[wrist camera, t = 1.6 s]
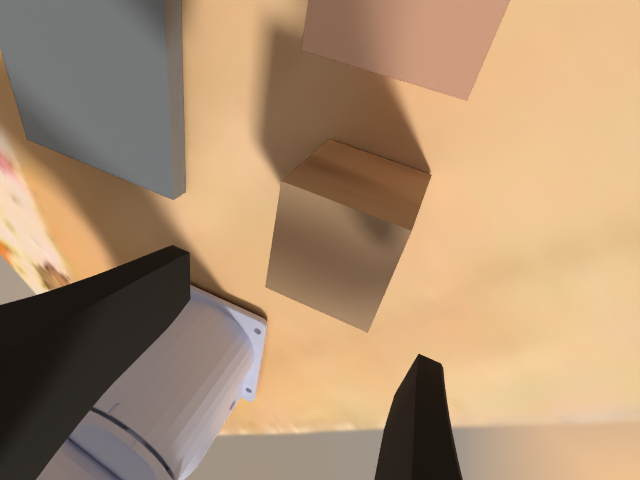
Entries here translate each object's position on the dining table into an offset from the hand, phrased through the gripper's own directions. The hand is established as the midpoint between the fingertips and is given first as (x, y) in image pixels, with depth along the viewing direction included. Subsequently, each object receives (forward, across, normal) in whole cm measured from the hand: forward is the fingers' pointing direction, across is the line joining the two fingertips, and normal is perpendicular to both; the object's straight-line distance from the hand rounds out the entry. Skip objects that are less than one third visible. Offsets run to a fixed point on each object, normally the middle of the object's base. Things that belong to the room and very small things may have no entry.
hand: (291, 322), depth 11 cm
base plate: (+8, +14, -2) cm, 16 cm away
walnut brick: (+8, 0, 0) cm, 8 cm away
